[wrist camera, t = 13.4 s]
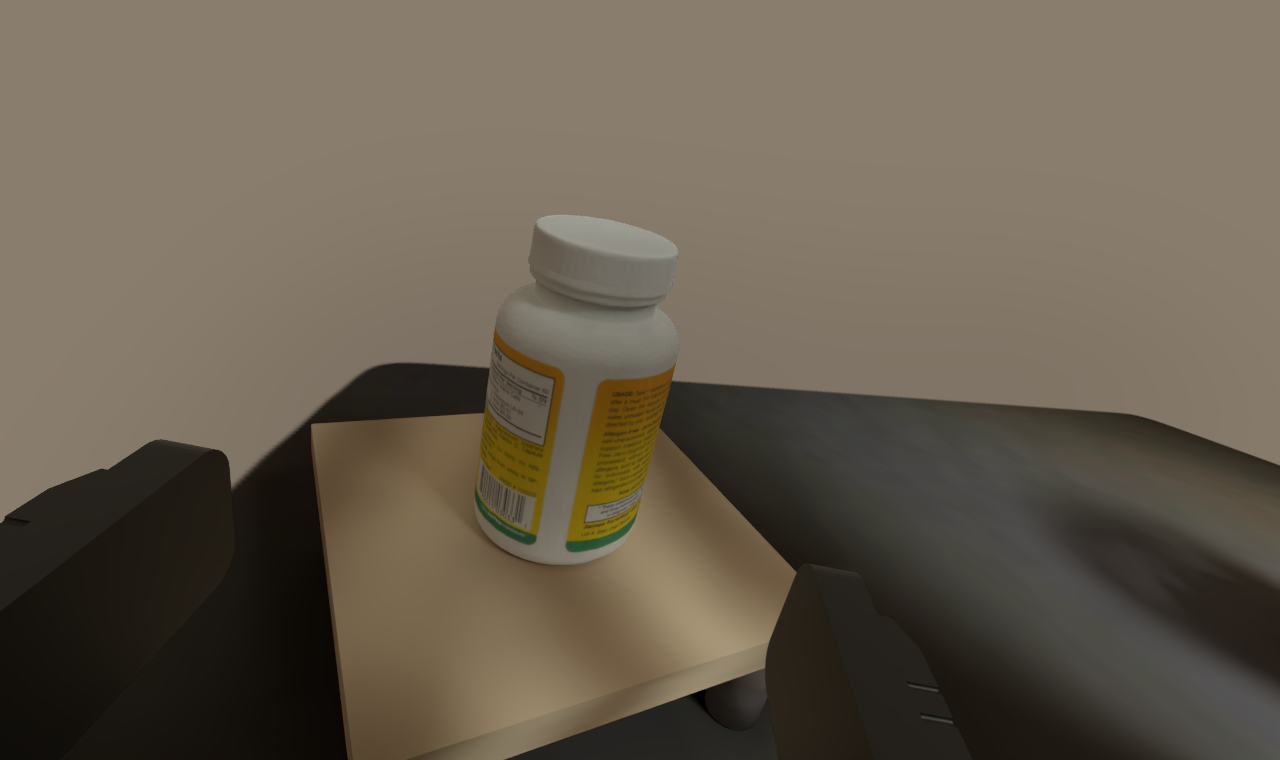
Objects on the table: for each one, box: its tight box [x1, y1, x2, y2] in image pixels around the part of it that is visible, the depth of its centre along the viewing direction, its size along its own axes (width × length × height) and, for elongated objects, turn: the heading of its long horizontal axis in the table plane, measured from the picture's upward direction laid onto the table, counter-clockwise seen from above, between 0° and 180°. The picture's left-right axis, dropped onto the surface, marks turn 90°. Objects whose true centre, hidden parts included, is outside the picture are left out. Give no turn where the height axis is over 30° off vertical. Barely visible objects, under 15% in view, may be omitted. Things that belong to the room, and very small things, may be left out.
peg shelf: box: [311, 413, 797, 760], centre depth 23 cm, size 14×14×5 cm
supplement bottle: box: [474, 215, 679, 565], centre depth 19 cm, size 6×6×10 cm
